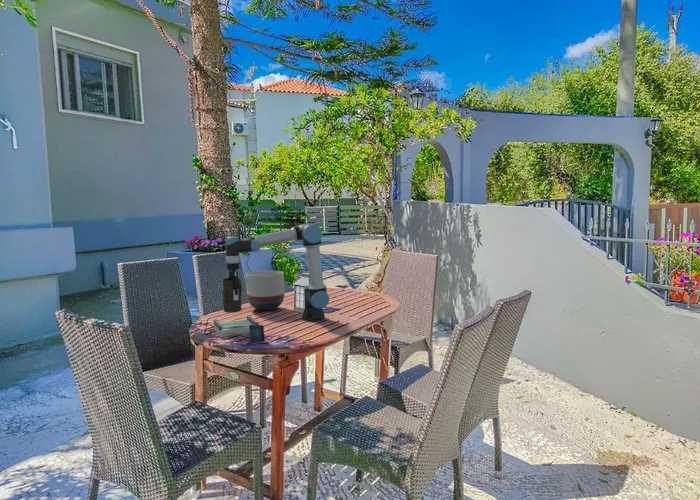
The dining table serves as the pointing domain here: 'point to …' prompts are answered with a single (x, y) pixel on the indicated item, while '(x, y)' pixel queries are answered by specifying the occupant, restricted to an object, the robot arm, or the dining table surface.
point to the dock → (233, 327)
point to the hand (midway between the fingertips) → (233, 298)
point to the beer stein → (231, 296)
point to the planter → (265, 289)
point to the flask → (256, 332)
